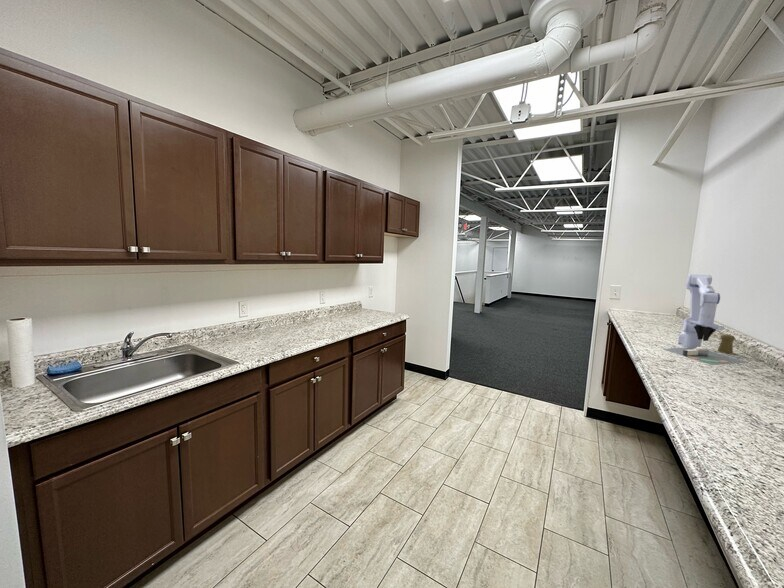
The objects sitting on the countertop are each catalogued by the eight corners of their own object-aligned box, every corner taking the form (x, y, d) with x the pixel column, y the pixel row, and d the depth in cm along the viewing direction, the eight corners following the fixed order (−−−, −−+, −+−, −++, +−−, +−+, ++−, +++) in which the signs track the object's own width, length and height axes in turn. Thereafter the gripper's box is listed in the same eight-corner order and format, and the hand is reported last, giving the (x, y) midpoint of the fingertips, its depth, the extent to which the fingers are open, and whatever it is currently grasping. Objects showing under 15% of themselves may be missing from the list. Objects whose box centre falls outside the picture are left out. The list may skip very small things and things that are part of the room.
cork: (736, 356, 167) (739, 336, 165) (722, 355, 168) (726, 335, 166) (726, 352, 173) (730, 333, 171) (713, 351, 174) (717, 332, 172)
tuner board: (661, 350, 174) (661, 348, 174) (694, 349, 178) (694, 346, 178) (711, 367, 151) (711, 364, 150) (747, 364, 154) (748, 362, 154)
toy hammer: (698, 352, 168) (699, 346, 168) (710, 355, 163) (711, 349, 162) (678, 353, 166) (679, 347, 165) (689, 356, 160) (690, 350, 160)
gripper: (685, 312, 168) (681, 336, 170) (717, 318, 154) (712, 344, 156) (696, 312, 169) (692, 335, 171) (728, 318, 155) (723, 343, 157)
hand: (702, 340), depth 164 cm, fingers closed
